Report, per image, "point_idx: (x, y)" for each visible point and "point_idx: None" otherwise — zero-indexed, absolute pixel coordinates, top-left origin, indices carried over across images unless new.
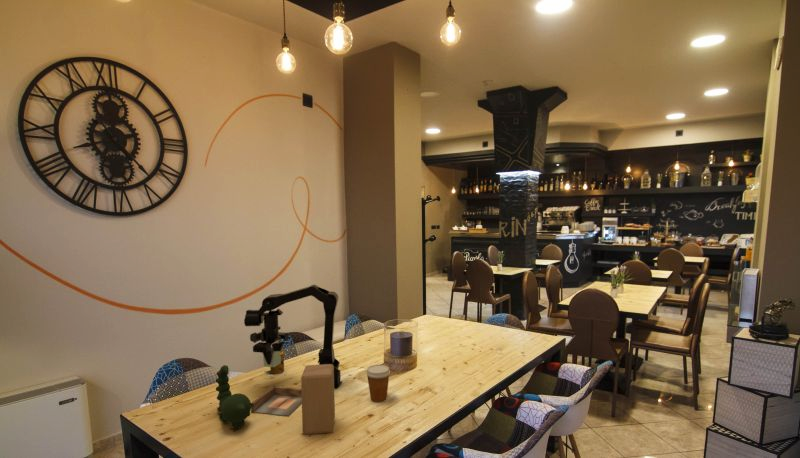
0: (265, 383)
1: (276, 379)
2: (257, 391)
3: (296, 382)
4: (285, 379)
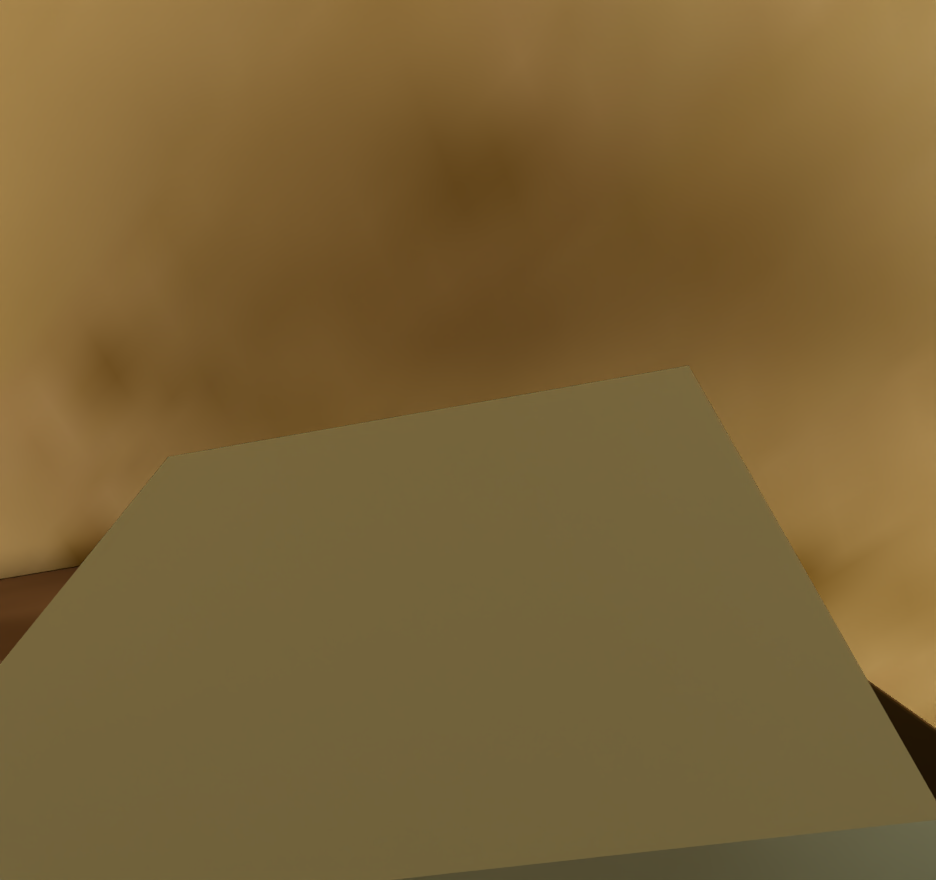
0: (603, 4)
1: (882, 90)
2: (214, 165)
3: (834, 571)
4: (925, 290)
